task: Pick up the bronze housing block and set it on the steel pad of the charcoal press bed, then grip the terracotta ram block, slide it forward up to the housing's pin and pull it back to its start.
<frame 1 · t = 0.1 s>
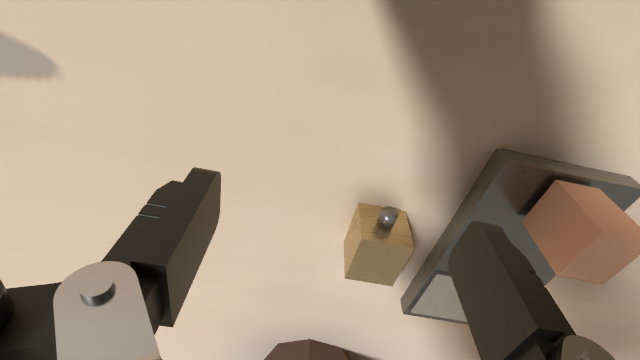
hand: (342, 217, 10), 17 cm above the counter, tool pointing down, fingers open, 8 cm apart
housing: (373, 226, 35), on the counter
brown cauldron: (309, 358, 54), on the counter
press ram: (578, 230, 26), point 5 cm above the counter, slide at 0.0 cm
press bed: (493, 249, 36), on the counter
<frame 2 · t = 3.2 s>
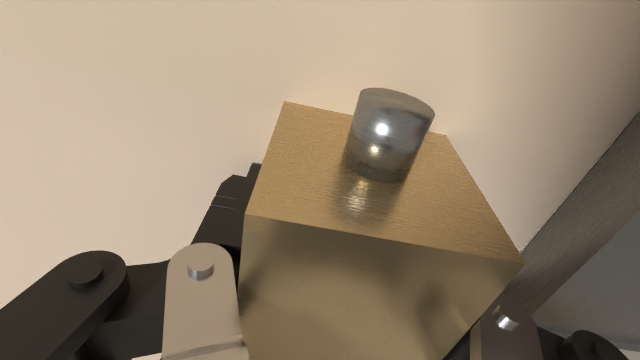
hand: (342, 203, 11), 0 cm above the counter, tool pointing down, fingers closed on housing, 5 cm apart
housing: (342, 195, 11), on the counter, touching gripper
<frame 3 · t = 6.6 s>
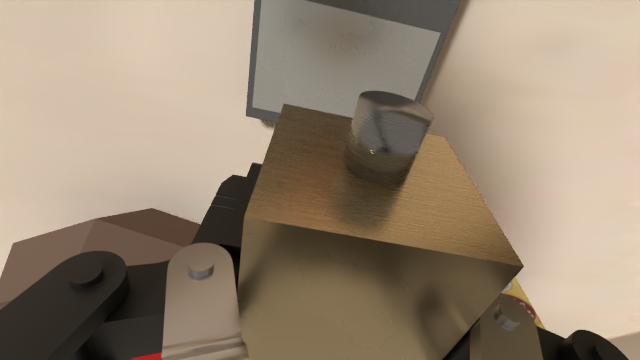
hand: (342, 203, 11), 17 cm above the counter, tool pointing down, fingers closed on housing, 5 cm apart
housing: (341, 197, 11), point 17 cm above the counter, touching gripper
brown cauldron: (168, 252, 39), on the counter
candy box: (430, 214, 34), on the counter
when the fingers open (4 cm above the counter, at t = 10.1 s): housing drops 1 cm, resting on press bed.
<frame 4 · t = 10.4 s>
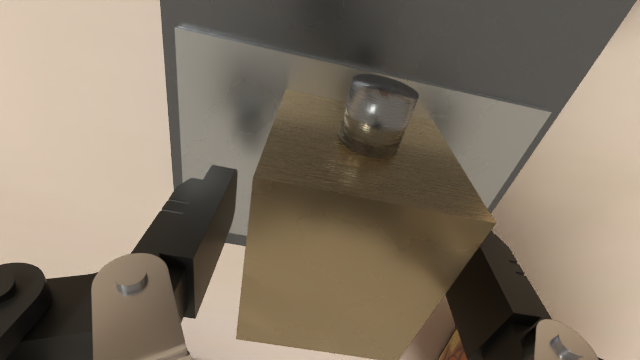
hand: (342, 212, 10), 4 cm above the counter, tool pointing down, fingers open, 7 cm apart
housing: (339, 178, 12), point 2 cm above the counter, touching press bed
candy box: (475, 338, 23), on the counter
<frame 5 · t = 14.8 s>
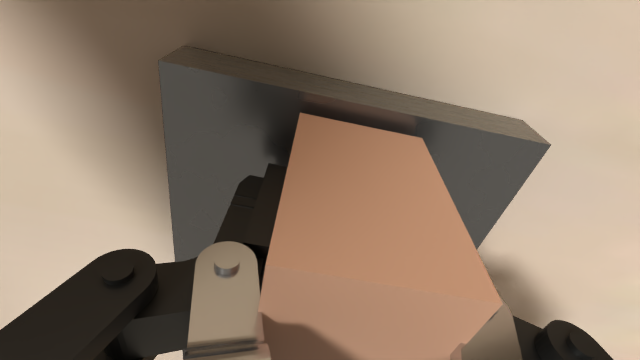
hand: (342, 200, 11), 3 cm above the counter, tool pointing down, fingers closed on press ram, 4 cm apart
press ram: (345, 250, 9), point 5 cm above the counter, slide at 0.0 cm, touching gripper
press bed: (304, 283, 19), on the counter
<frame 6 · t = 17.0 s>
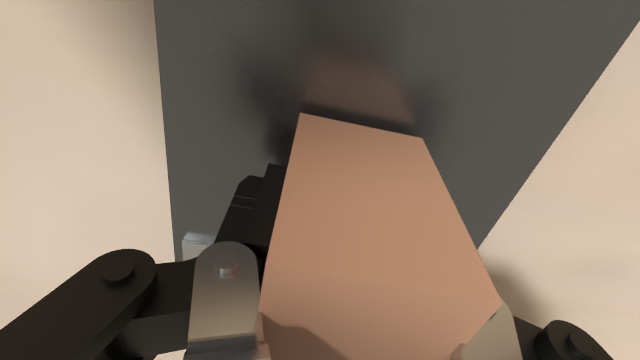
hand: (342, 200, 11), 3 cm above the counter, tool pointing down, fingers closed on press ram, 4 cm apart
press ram: (345, 249, 9), point 5 cm above the counter, slide at 7.5 cm, touching gripper
press bed: (333, 181, 14), on the counter
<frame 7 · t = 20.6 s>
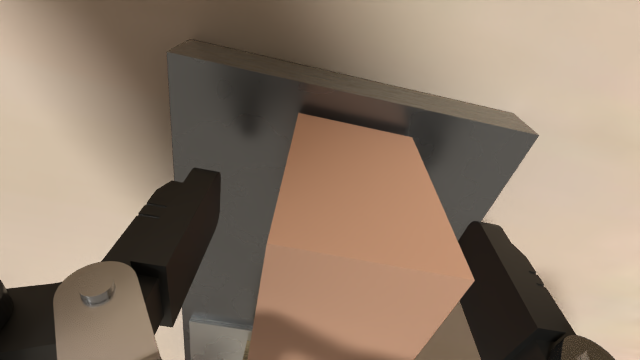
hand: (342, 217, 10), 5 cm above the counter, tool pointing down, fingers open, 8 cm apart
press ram: (339, 239, 10), point 5 cm above the counter, slide at 0.4 cm
press bed: (303, 273, 19), on the counter
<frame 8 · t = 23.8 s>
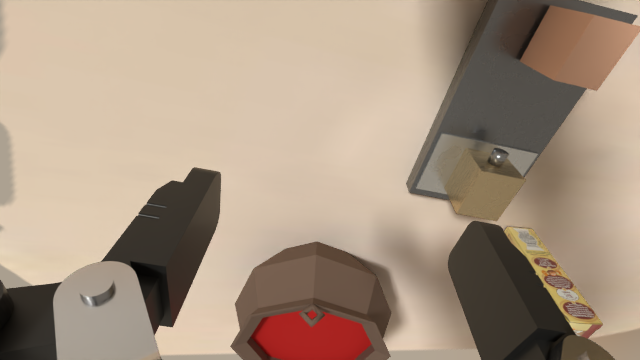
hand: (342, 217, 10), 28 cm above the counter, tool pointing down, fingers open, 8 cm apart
housing: (473, 172, 39), point 2 cm above the counter, touching press bed
brown cauldron: (315, 270, 55), on the counter
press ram: (572, 46, 28), point 6 cm above the counter, slide at 0.4 cm
press bed: (495, 112, 37), on the counter
candy box: (506, 246, 50), on the counter
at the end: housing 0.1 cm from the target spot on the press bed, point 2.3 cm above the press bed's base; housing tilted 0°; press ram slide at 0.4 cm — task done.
